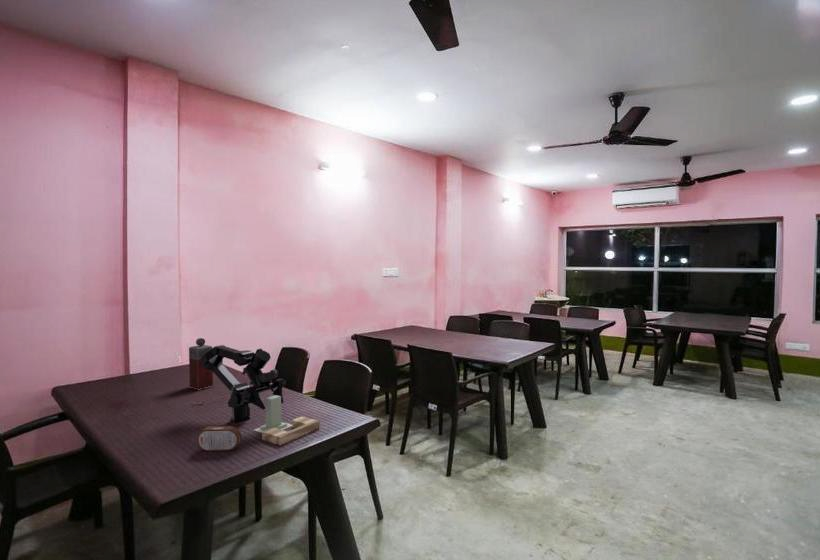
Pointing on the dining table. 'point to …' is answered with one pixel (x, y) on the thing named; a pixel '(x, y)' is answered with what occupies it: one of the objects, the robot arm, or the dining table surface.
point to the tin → (219, 438)
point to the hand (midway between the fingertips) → (273, 406)
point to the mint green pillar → (273, 413)
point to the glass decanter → (199, 366)
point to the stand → (301, 428)
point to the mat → (280, 429)
